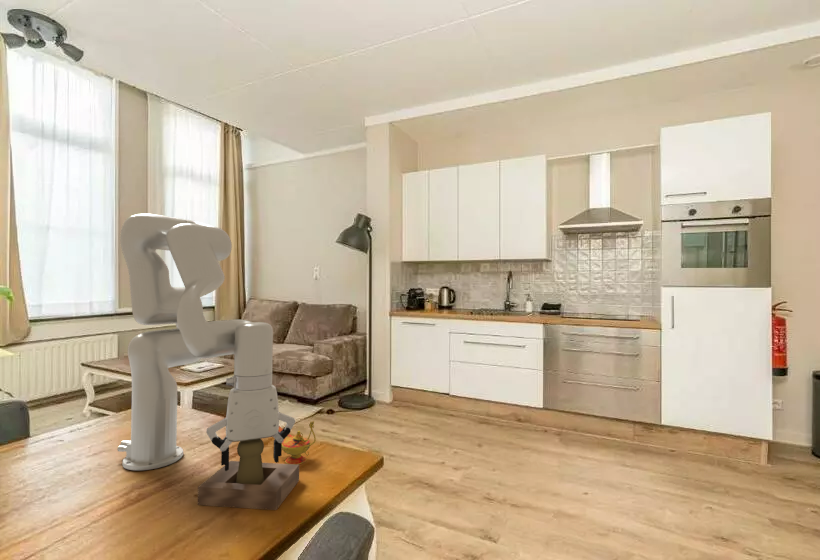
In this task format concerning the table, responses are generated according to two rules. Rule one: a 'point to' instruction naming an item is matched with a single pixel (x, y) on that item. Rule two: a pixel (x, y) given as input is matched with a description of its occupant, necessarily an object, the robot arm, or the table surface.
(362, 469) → the table surface
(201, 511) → the table surface
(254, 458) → the cork
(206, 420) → the table surface
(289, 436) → the magic lamp
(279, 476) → the shaker holder
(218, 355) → the robot arm
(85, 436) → the table surface
